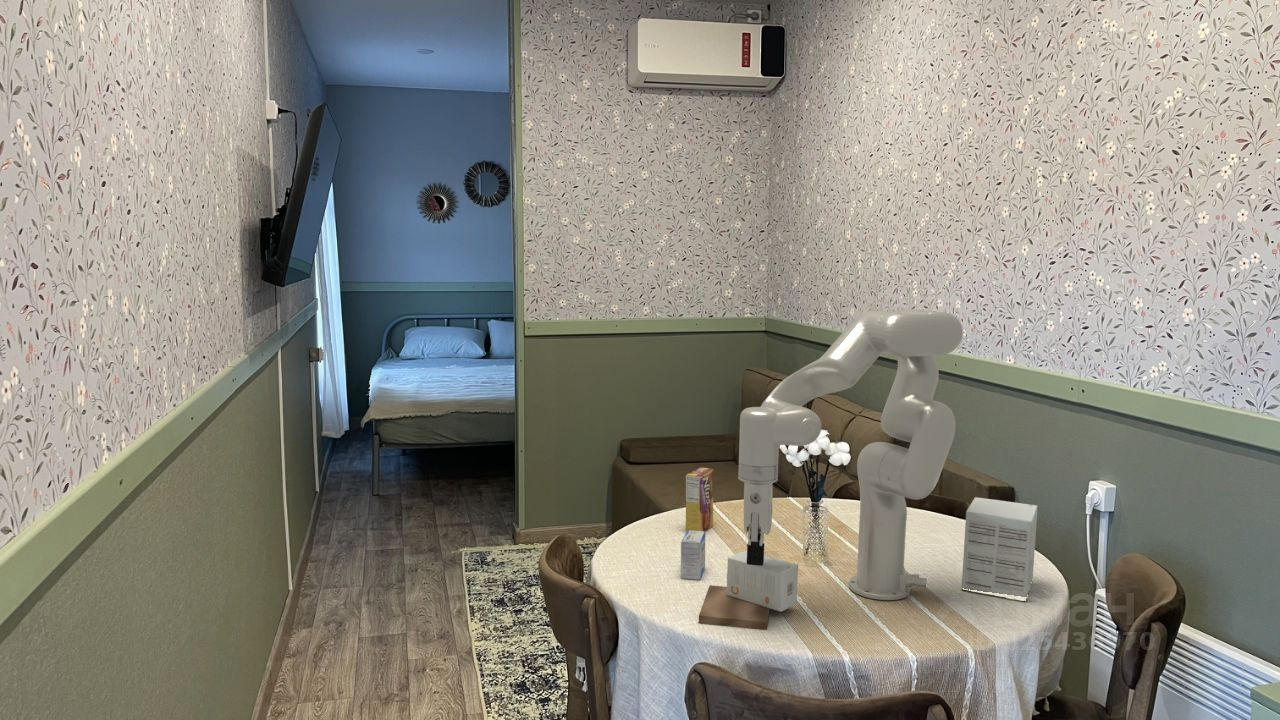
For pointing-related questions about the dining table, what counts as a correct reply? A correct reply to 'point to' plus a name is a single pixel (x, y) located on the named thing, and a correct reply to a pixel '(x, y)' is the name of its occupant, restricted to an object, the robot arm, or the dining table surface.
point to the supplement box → (999, 547)
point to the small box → (763, 581)
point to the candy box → (699, 500)
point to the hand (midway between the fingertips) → (755, 563)
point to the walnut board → (732, 610)
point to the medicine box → (693, 555)
